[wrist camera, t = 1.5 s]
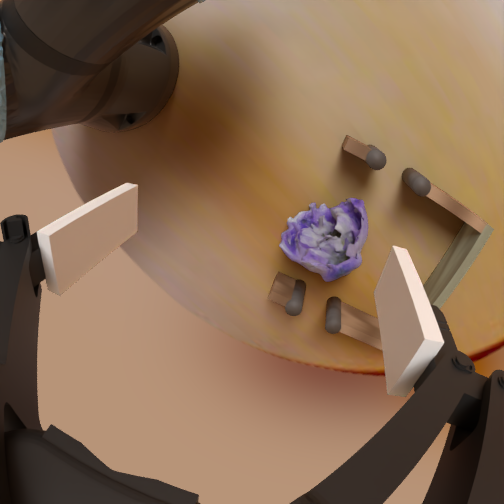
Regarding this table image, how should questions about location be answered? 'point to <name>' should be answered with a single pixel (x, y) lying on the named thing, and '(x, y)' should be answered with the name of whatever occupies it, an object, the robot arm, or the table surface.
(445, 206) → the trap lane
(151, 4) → the robot arm
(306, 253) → the flower
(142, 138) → the table surface
